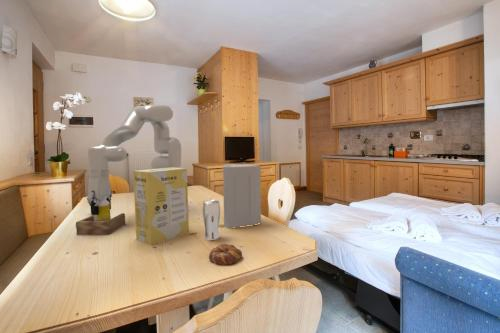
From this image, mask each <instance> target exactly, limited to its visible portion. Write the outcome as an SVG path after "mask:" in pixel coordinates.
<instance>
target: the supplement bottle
mask: <svg viewBox="0 0 500 333" xmlns="http://www.w3.org/2000/svg"><path fill="white" fill-rule="evenodd" d="M106 199H107V196H105V197H104V199H102V200H99V202H98V205H97V206H99V215H94V221H108V220H110V219H112V217H111V209H110V203H109V201H107V200H106Z"/></svg>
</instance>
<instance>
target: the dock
mask: <svg viewBox="0 0 500 333" xmlns="http://www.w3.org/2000/svg"><path fill="white" fill-rule="evenodd" d="M75 226H76V227H75V229H76V236H77V235H78V236H80V235H81V236H87V235H88V236H98V235H99V236H102V235H104V236H109V235H111V234H112V233H114V232H116V231H117V230H120V229H121V228H122V227H124V226H126V213H120V214H118V215H116V216H115V217H111V219H110V220H108V221H94V215H90V216H89V215H88V216H87V217H84V218H83V219H80V220H78V221H76V222H75Z"/></svg>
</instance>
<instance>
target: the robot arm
mask: <svg viewBox="0 0 500 333" xmlns="http://www.w3.org/2000/svg"><path fill="white" fill-rule="evenodd" d="M173 116H174V111H173V109H172V108H171V107H170V106H169V105H166V104H165V105H164V104H163V105H158V104H157V105H154V104H151V105H149V104H148V105H140V106H139V105H138V106H135V107H133V108H131V109H130V112H129V113H128V115H126V117H125V119H124V120H123V121H122V123H121V124H120V125H119V127H117V128H115V129H114V130H113V131H112V132H110V133H109V134H107V136H106V137H105V138H103V139H102V141H101V142H100V144H99V146H90V147H88V148H87V159H88V175H89V178H88V184H87V197H86V200H87V202H88V205H89V207H90V216H92V215H99V206H97V205H98V202H99V200H102V199H104V197H105V196H107V199H106V200H107V201H109V203H110V210H111V209H112V197H113V196H112V194H113V190H112V188H111V183H110V174H109V168H110V167H109V163H110V162H111V163H112V162H113V163H117V162H118V163H119V162H122V161H124V160H125V159H126V157H127V154H128V153H127V151H126V149H125V148H124V147H122V146H120V145H121V144H122V143H125V142H127V141H130V140H131V139H134V138H135V137H137V135H138V134H139V132H140V130H141V129H142V128H143V126H144V125H145V123H150V125H151V126H152V128H153V136H154V137H153V144H154V145H153V147H154V151H155V152H156V153H157V154H161V155H158V156H155V157H154V158H152V160H151V166H150V167H151V169H159V168H170V167H174V168H182V144H181V141H180V140H179V139H178V138H177V137H174V136H170V135H171V134H170V128H169V125H168V123H167V122H168V121H171V120H172V119H173ZM94 201H96V202H94Z"/></svg>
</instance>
